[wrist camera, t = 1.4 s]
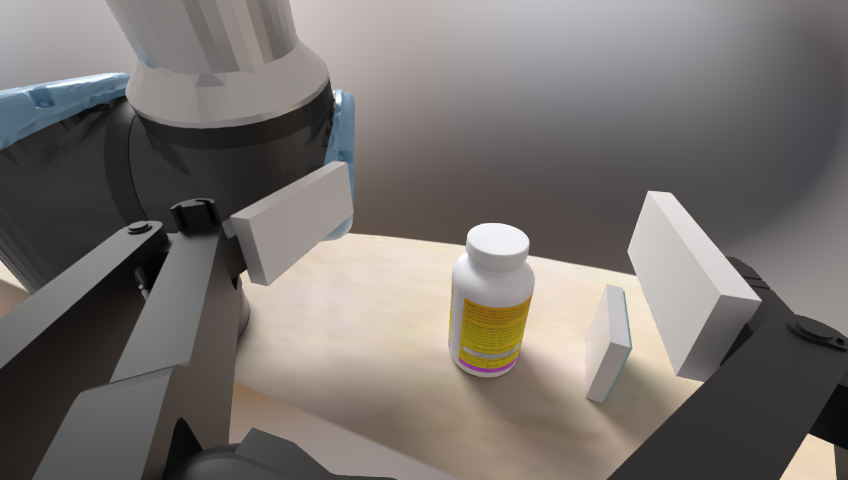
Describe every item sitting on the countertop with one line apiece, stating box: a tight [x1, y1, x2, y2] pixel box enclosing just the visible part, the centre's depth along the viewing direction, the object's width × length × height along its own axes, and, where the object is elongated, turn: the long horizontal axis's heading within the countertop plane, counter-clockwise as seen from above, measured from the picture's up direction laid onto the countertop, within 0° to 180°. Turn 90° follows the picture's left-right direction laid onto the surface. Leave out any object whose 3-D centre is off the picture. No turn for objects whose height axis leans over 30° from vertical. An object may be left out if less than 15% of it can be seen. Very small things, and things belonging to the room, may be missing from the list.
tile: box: [585, 284, 632, 403], centre depth 29 cm, size 2×7×7 cm, turn 158°
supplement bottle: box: [448, 223, 535, 378], centre depth 29 cm, size 7×7×13 cm
